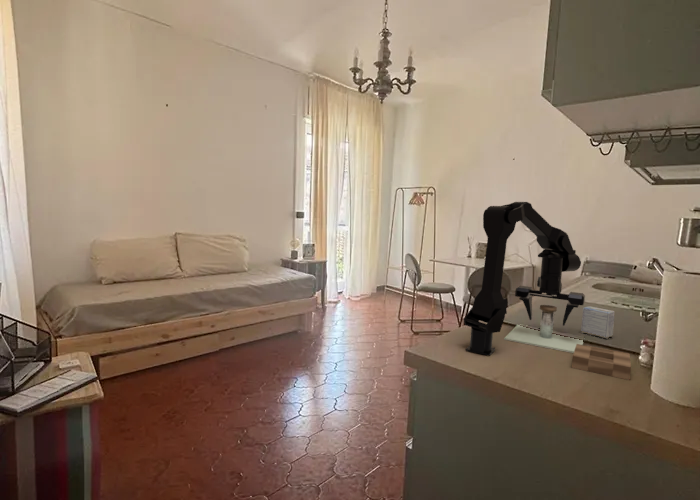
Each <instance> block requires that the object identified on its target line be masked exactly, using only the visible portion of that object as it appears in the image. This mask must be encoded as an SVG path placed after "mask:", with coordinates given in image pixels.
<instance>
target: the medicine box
mask: <svg viewBox="0 0 700 500" xmlns="http://www.w3.org/2000/svg"><path fill="white" fill-rule="evenodd" d="M615 313H616V311H614V310H610V309H605V308H600V307H596V306H590V305H589V306H585V307H583V308H582V317H581V328H580V329H581V330H580V332H581V331H584V332H588V333H592V334H596V335H600V336H604V337H609V336H612V335H614V327H615V326H614V324H615Z"/></svg>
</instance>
